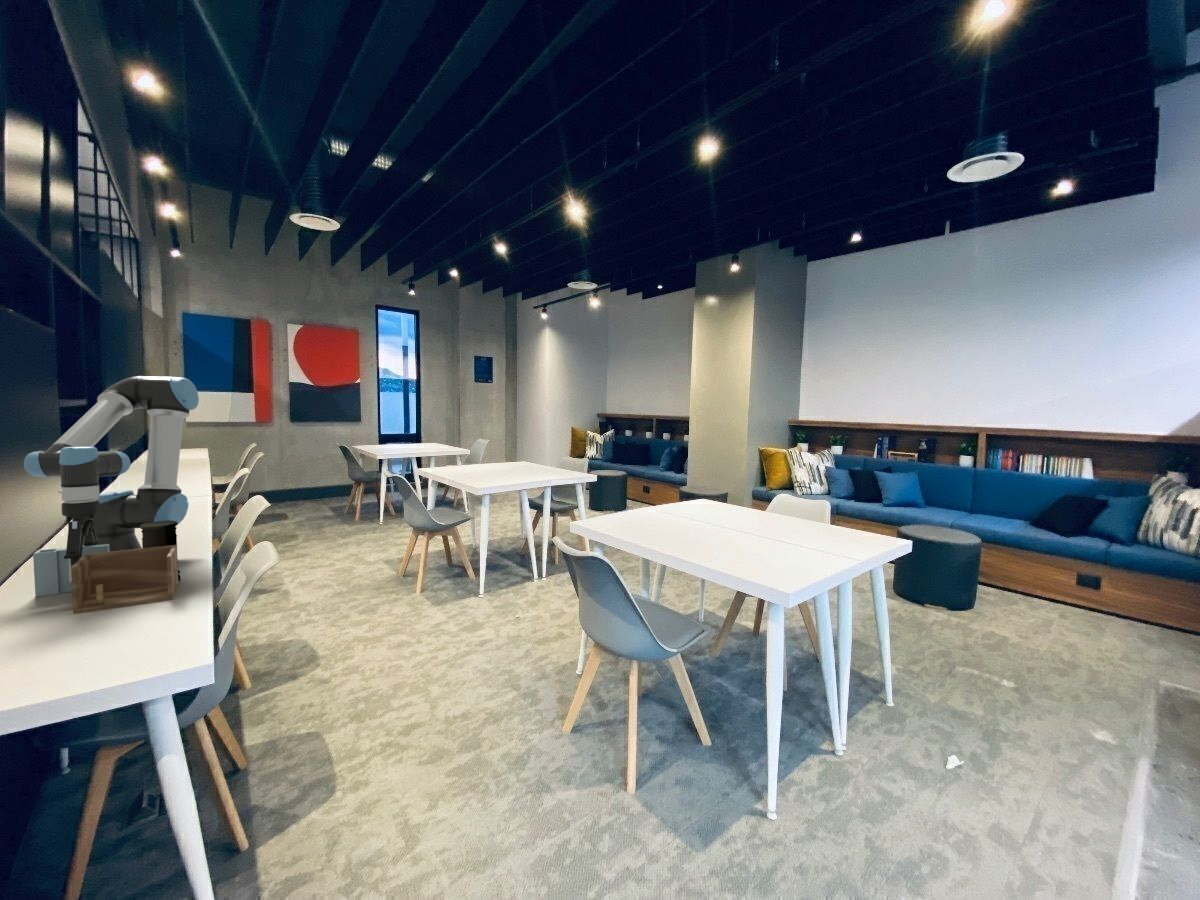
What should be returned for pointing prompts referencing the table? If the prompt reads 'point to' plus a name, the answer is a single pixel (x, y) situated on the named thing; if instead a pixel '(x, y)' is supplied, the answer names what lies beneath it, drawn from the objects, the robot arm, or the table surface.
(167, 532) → the container
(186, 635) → the table surface
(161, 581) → the cabinet
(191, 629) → the table surface
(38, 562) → the door
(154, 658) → the table surface
